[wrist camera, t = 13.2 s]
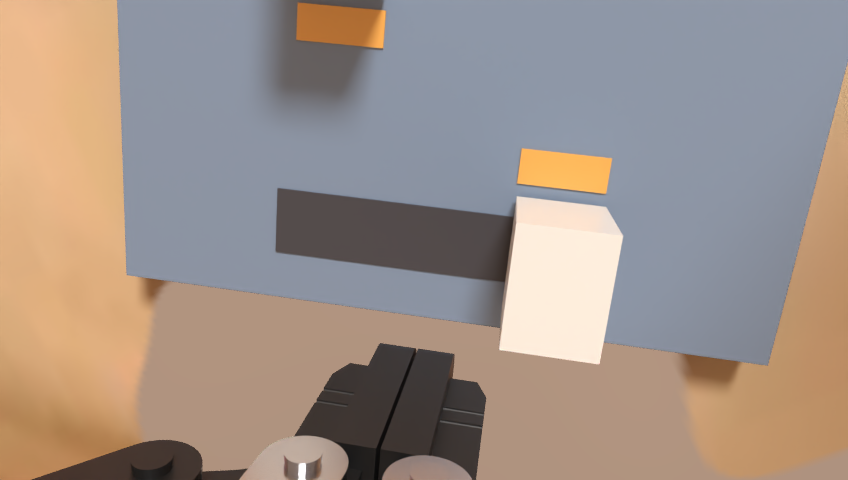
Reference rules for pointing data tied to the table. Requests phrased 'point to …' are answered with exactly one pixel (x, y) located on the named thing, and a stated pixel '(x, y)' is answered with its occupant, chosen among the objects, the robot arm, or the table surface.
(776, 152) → the switch bank
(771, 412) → the table surface
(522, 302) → the tab
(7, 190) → the table surface
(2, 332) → the table surface
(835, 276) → the table surface
